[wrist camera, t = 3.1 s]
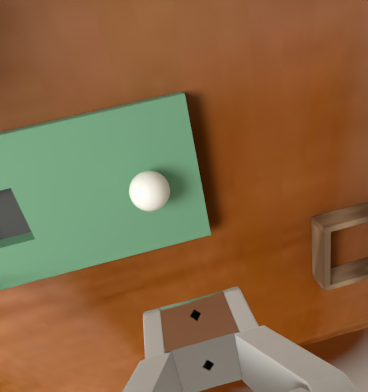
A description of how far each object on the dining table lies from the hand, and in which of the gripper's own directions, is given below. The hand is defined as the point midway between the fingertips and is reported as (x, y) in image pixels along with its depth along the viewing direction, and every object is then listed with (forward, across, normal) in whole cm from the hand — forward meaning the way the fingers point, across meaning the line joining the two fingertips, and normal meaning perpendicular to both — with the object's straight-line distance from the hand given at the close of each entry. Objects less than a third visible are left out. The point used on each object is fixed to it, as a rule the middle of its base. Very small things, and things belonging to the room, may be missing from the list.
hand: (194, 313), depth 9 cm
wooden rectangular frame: (+25, -25, +20) cm, 40 cm away
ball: (+20, +1, +4) cm, 21 cm away
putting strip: (+25, +10, +4) cm, 27 cm away
